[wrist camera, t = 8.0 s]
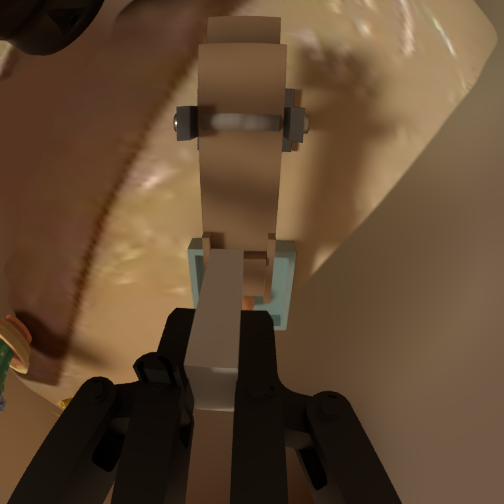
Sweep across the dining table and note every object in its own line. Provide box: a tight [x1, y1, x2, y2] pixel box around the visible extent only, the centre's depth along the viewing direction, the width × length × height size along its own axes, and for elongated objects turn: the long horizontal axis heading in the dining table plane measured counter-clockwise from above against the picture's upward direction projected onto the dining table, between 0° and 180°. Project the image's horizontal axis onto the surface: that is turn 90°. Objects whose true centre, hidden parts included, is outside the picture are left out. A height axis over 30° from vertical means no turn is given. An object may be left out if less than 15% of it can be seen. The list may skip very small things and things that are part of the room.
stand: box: [173, 89, 309, 152], centre depth 22 cm, size 7×10×12 cm
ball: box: [242, 296, 255, 310], centre depth 36 cm, size 4×4×4 cm
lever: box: [198, 16, 287, 303], centre depth 21 cm, size 24×6×5 cm, turn 178°
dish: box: [188, 238, 297, 330], centre depth 36 cm, size 13×13×3 cm
